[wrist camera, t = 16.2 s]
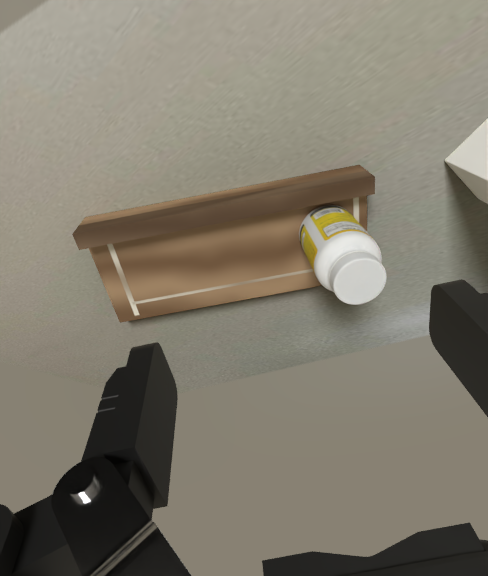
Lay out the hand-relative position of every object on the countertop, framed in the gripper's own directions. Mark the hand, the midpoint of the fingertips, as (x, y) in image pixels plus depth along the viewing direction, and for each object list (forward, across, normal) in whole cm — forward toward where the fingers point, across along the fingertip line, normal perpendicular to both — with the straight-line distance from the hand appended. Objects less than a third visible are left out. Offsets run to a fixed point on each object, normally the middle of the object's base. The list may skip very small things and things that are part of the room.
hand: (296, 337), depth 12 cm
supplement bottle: (+25, -6, +9) cm, 27 cm away
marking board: (+27, +3, +9) cm, 29 cm away
